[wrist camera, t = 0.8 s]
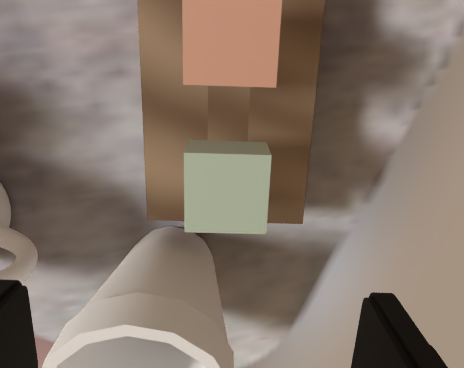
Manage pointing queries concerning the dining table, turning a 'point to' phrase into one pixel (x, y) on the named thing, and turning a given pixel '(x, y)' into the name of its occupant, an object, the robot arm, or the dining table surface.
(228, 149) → the sage key
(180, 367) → the foam cup
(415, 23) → the dining table surface
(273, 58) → the terracotta key
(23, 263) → the mug
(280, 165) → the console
